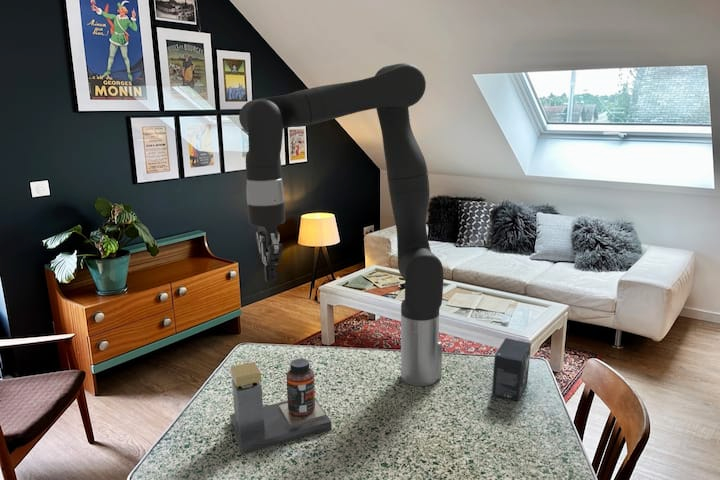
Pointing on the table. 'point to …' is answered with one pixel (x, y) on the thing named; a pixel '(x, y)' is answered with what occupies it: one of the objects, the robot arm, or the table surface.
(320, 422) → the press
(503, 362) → the box
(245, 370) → the plunger
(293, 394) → the supplement bottle
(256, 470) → the table surface
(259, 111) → the robot arm
